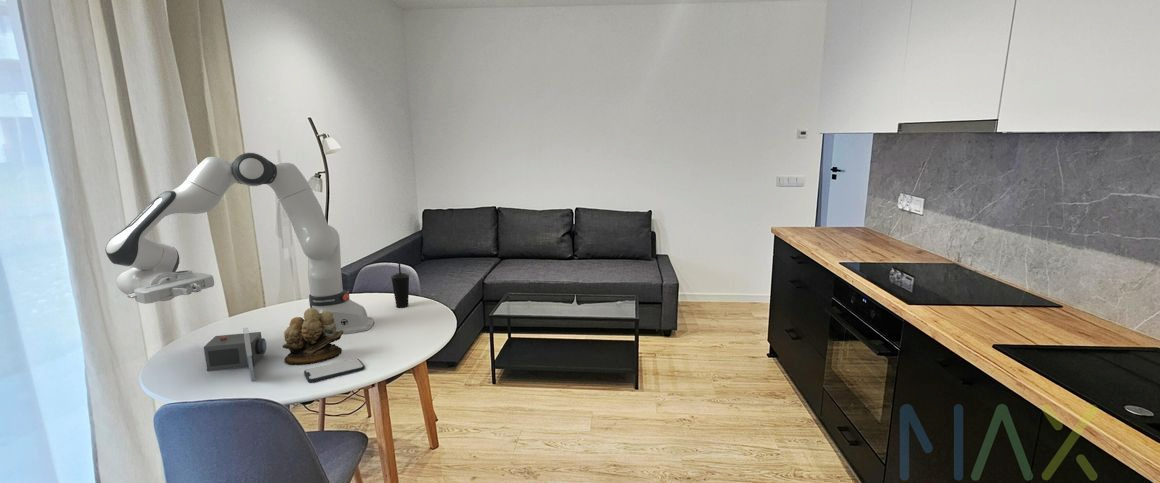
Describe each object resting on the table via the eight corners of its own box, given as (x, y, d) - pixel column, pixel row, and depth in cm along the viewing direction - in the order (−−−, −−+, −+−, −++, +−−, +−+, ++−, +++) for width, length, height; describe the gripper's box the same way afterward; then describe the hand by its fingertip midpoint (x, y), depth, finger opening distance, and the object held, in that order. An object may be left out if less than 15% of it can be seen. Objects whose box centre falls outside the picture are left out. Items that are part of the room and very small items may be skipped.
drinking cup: (405, 309, 217) (402, 263, 213) (389, 308, 218) (385, 262, 214) (415, 304, 224) (412, 259, 220) (399, 303, 226) (395, 258, 222)
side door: (247, 367, 162) (241, 322, 159) (252, 366, 163) (246, 321, 160) (250, 382, 152) (244, 334, 149) (255, 380, 153) (249, 333, 150)
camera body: (270, 353, 172) (267, 329, 171) (261, 365, 163) (258, 340, 162) (219, 359, 168) (215, 334, 167) (207, 371, 159) (203, 345, 158)
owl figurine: (343, 345, 179) (339, 298, 176) (346, 358, 169) (342, 308, 166) (284, 355, 171) (278, 306, 168) (283, 369, 161) (277, 317, 157)
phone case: (358, 362, 167) (303, 374, 158) (358, 357, 167) (303, 369, 157) (366, 371, 160) (309, 385, 151) (365, 366, 160) (308, 380, 151)
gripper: (121, 285, 149) (154, 289, 144) (194, 268, 168) (224, 272, 163) (125, 306, 150) (157, 311, 145) (196, 287, 169) (227, 291, 164)
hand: (193, 290), depth 154 cm, fingers closed
